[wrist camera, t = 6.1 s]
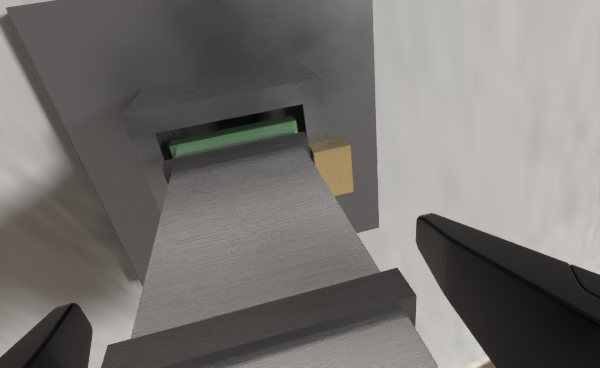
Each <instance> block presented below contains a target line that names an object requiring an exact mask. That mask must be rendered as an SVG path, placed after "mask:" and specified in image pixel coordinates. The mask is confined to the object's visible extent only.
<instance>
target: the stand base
mask: <svg viewBox="0 0 600 368" xmlns="http://www.w3.org/2000/svg"><path fill="white" fill-rule="evenodd" d="M6 10H7V12H8V14H9V16H10V18H11V20H12V22H13V24H14V26H15V28H16V30H17V32H18V34H19V36H20V38H21V40H22V42H23V44H24V46H25V48H26V50H27V52H28V54H29V56H30V58H31V60H32V62H33V64H34V66H35V68H36V70H37V73H38V75H39V77H40V79H41V81H42V83H43V85H44V87H45V89H46V91H47V93H48V95H49V97H50V99H51V101H52V103H53V105H54V107H55V109H56V111H57V113H58V115H59V117H60V119H61V121H62V123H63V125H64V127H65V129H66V131H67V134H68V136H69V138H70V140H71V142H72V144H73V146H74V148H75V150H76V152H77V154H78V156H79V158H80V160H81V162H82V164H83V166H84V168H85V170H86V172H87V174H88V176H89V178H90V180H91V182H92V184H93V186H94V188H95V190H96V192H97V195H98V197H99V199H100V201H101V203H102V205H103V207H104V209H105V211H106V213H107V215H108V217H109V219H110V221H111V223H112V225H113V227H114V229H115V231H116V233H117V235H118V237H119V239H120V241H121V243H122V245H123V247H124V249H125V251H126V253H127V256H128V258H129V260H130V262H131V264H132V266H133V268H134V270H135V272H136V274H137V276H138V278H139V280H140V282H141V284H142V286H144V282H145V278H146V274H147V270H148V266H149V262H150V258H151V254H152V249H153V245H154V241H155V237H156V233H157V229H158V225H159V221H160V217H161V213H162V209H163V205H164V201H165V197H166V193H167V189H168V183H167V181H166V178H165V175H164V173H163V170H162V167H163V164H164V161H165V160H170V159H173V157H172V154H171V151H170V148H169V145H170V141H171V140H174V139H179V138H184V137H189V136H194V135H199V134H204V133H209V132H214V131H219V130H224V129H229V128H234V127H239V126H244V125H249V124H254V123H259V122H264V121H269V120H273V119H278V118H283V117H288V116H293V117H294V118H295V120H296V123H297V130H298V133H299V132H304V133H305V134H306V136H307V137H308V141H309V149H310V156H311V160H312V161H313V163H314V165H315V166H316V168H317V170H318V171H319V173H320V174H321V176H322V178H323V179H324V181H325V183H326V184H327V186H328V187H329V189H330V191H331V192H332V194H333V196H334V197H335V199H336V200H337V202H338V204H339V205H340V207H341V209H342V210H343V212H344V213H345V215H346V217H347V218H348V220H349V222H350V223H351V225H352V226H353V228H354V230H355V231H356V233H359V232H363V231H367V230H371V229H375V228H379V213H378V179H377V145H376V110H375V76H374V42H373V8H372V0H55V1H49V2H42V3H35V4H28V5H21V6H15V7H8V8H6Z"/></svg>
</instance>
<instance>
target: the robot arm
mask: <svg viewBox="0 0 600 368" xmlns="http://www.w3.org/2000/svg"><path fill="white" fill-rule="evenodd" d="M416 243H417V246H418V249H419V250H420V252H421V254H422V256H423V258H424V259H425V261H426V263H427V265H428V267H429V268H430V270H431V272H432V274H433V276H434V277H435V279H436V281H437V283H438V285H439V286H440V288H441V290H442V291H443V293H444V295H445V296H446V298H447V299H448V301H449V302H450V304H451V305H452V306H453V308H454V309H455V311H456V312H457V313H458V315H459V316H460V318H461V319H462V320H463V322H464V323H465V325H466V326H467V328H468V329H469V330H470V332H471V333H472V335H473V336H474V337H475V339H476V340H477V342H478V343H479V344H480V346H481V347H482V349H483V350H484V351H485V353H486V354H487V356H488V357H489V359H490V360H491V361H492V363H493V364H494V365H495V367H496V368H600V275H599V274H596V273H594V272H591V271H588V270H585V269H583V268H580V267H577V266H575V265H570V266H569V264H568V263H566V262H564V261H561V260H558V259H555V258H553V257H550V256H547V255H545V254H542V253H539V252H537V251H534V250H531V249H528V248H526V247H523V246H520V245H518V244H515V243H512V242H509V241H507V240H504V239H501V238H499V237H496V236H493V235H491V234H488V233H485V232H482V231H480V230H477V229H474V228H472V227H469V226H466V225H463V224H461V223H458V222H455V221H453V220H450V219H447V218H445V217H442V216H439V215H436V214H433V213H429V214H425V215H421V216H419V217H418V218H417V224H416ZM91 341H92V326H91V324H90V322H89V321H88V319H87V318H86V316H85V314H84V313H83V311H82V310H81V308H80V307H79V305H77V304H76V303H71V304H67V305H63V306H59V307H57V308H55V309H54V310H53V311H51V312H50V313H49V314H48V315H47V316H46V317H45V318H44V319H43V320H41V321H40V322H39V323H38V324H37V325H36V326H35V327H34V328H33V329H31V330H30V331H29V332H28V333H27V334H26V335H25V336H24V337H23V338H21V339H20V340H19V341H18V342H17V343H16V344H15V345H14V346H13V347H11V348H10V349H9V350H8V351H7V352H6V353H5V354H4V355H3V356H1V357H0V368H88V363H89V355H90V348H91Z"/></svg>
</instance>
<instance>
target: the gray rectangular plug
mask: <svg viewBox="0 0 600 368" xmlns="http://www.w3.org/2000/svg"><path fill="white" fill-rule="evenodd" d="M169 148H170V151H171V154H172V157H173V159H170V160H165V161H164V164H163V167H162V170H163V173H164V175H165V178H166V181H167V183H168V189H167V193H166V197H165V201H164V205H163V209H162V213H161V217H160V221H159V225H158V229H157V233H156V237H155V241H154V245H153V249H152V254H151V258H150V262H149V266H148V270H147V274H146V278H145V282H144V286H143V290H142V294H141V298H140V302H139V306H138V310H137V315H136V319H135V323H134V327H133V331H132V335H131V339H129V340H126V341H122V342H118V343H114V344H111V345H108V347H107V350H106V353H105V356H104V360H103V363H102V366H101V368H438V365H437V363H436V362H435V360H434V358H433V357H432V355H431V353H430V352H429V350H428V348H427V347H426V345H425V344H424V342H423V340H422V339H421V337H420V335H419V334H418V332H417V331H416V329H415V318H416V294H415V293H414V291H413V290H412V288H411V287H410V286H409V284H408V283H407V281H406V280H405V278H404V277H403V275H402V274H401V272H400V271H399V270H398V268H395V269H391V270H387V271H383V272H380V270H379V269H378V267H377V266H376V264H375V262H374V261H373V259H372V257H371V256H370V254H369V252H368V251H367V249H366V248H365V246H364V244H363V243H362V241H361V239H360V238H359V236H358V235H357V233H356V231H355V230H354V228H353V226H352V225H351V223H350V222H349V220H348V218H347V217H346V215H345V213H344V212H343V210H342V209H341V207H340V205H339V204H338V202H337V200H336V199H335V197H334V196H333V194H332V192H331V191H330V189H329V187H328V186H327V184H326V183H325V181H324V179H323V178H322V176H321V174H320V173H319V171H318V170H317V168H316V166H315V165H314V163H313V161H312V160H311V156H310V149H309V141H308V137H307V136H306V134H305V133H304V132H299V133H298V130H297V123H296V120H295V118H294V117H293V116H288V117H283V118H278V119H273V120H269V121H264V122H259V123H254V124H249V125H244V126H239V127H234V128H229V129H224V130H219V131H214V132H209V133H204V134H199V135H194V136H189V137H184V138H179V139H174V140H171V141H170V145H169Z"/></svg>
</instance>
